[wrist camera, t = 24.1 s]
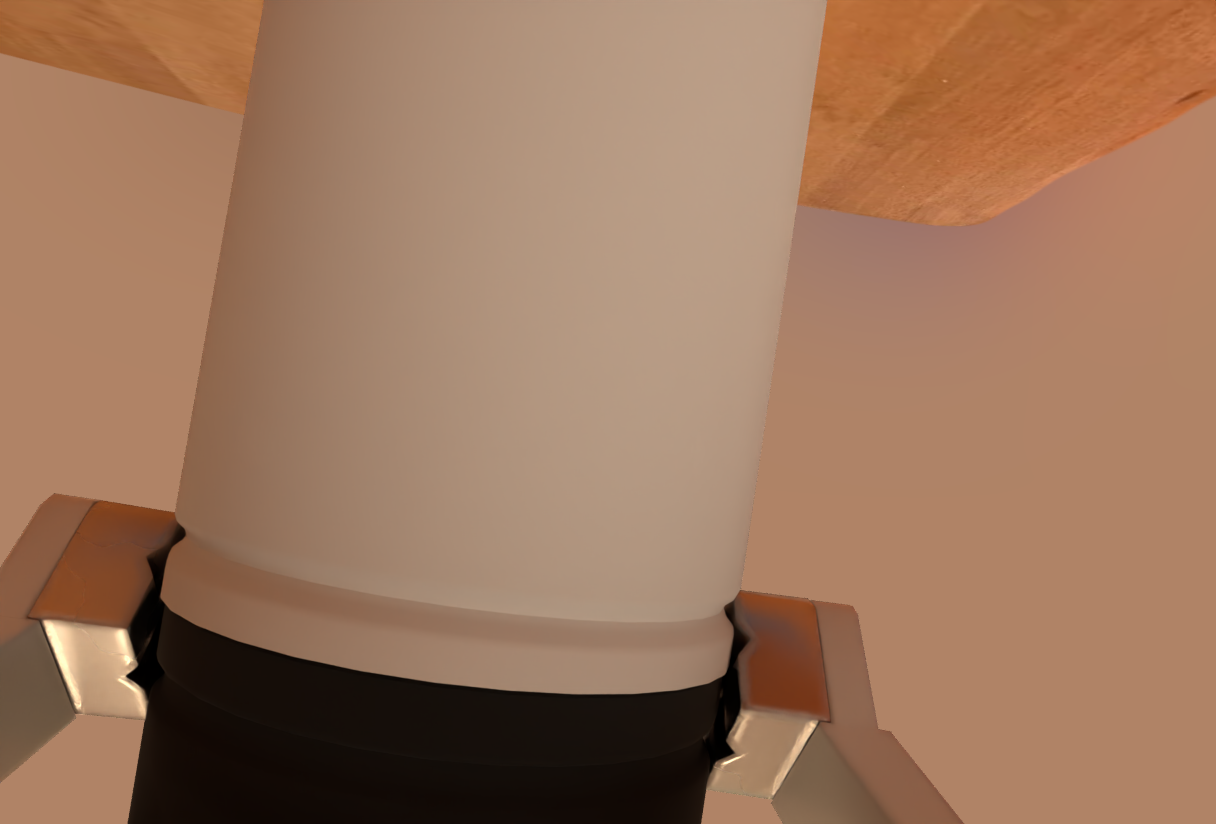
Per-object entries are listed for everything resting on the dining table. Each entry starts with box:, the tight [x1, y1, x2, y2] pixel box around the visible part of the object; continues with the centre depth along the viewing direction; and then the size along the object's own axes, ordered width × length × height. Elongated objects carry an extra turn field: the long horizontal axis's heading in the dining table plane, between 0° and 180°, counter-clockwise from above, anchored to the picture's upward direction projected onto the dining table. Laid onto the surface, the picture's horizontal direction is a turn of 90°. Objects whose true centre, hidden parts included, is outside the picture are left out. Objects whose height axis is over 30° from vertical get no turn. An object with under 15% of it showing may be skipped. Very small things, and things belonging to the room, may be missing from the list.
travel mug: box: [128, 0, 827, 824], centre depth 11 cm, size 6×7×20 cm
